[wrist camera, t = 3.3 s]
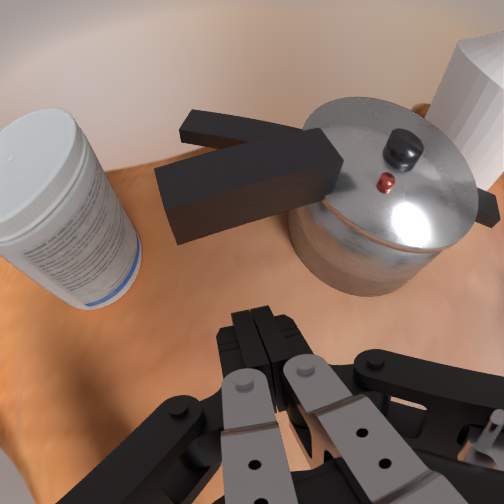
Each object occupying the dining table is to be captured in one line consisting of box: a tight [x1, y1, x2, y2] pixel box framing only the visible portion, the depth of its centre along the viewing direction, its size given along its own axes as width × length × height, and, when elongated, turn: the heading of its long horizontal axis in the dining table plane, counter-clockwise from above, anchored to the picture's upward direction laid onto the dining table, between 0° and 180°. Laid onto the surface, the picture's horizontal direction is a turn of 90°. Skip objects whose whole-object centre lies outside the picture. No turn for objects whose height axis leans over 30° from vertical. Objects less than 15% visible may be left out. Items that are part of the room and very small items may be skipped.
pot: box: [179, 109, 500, 297], centre depth 26 cm, size 27×14×9 cm, turn 75°
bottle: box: [425, 31, 504, 191], centre depth 23 cm, size 12×12×25 cm
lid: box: [154, 97, 478, 254], centre depth 19 cm, size 24×15×4 cm, turn 111°
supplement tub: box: [0, 108, 142, 310], centre depth 20 cm, size 10×10×15 cm
